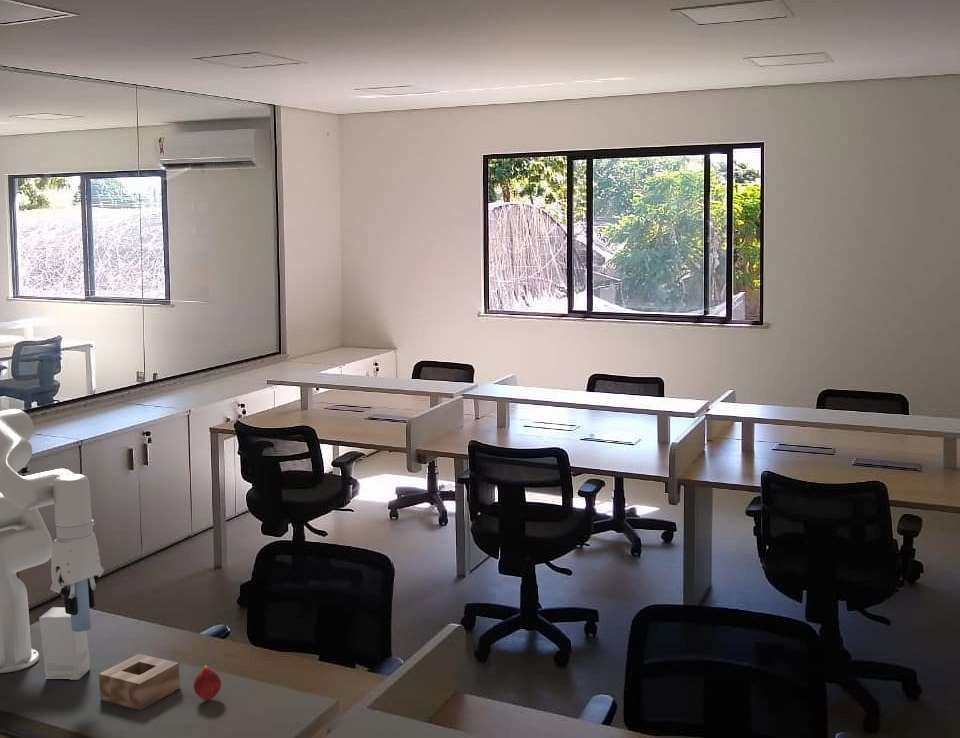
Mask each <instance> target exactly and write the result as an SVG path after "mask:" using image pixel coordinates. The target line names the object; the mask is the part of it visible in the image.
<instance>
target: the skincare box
mask: <svg viewBox="0 0 960 738" xmlns="http://www.w3.org/2000/svg"><path fill="white" fill-rule="evenodd" d="M39 628H40V629H39V630H40V636H41V646H42V655H43V662H44V663H43V664H44V673H45V680H46V679H70V680H69V681H79V680H80V679H82V677H83V676H84V675H86V674H87V672H89V671H90V670H89V669H91V661H90V660H91V659H90V651H89V650H90V649H89V641H88V633H87V631H88V630H86V631H81V632H75V631H72V625H71V614H67V613H66V612H65V606H64V607H62V606H61V607H59V606H58V607H57V606H53V607H51V608H49V609H48V610H47V611H46V612H44V613H43V614H42V615H41V616H39ZM88 670H89V671H88Z"/></svg>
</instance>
